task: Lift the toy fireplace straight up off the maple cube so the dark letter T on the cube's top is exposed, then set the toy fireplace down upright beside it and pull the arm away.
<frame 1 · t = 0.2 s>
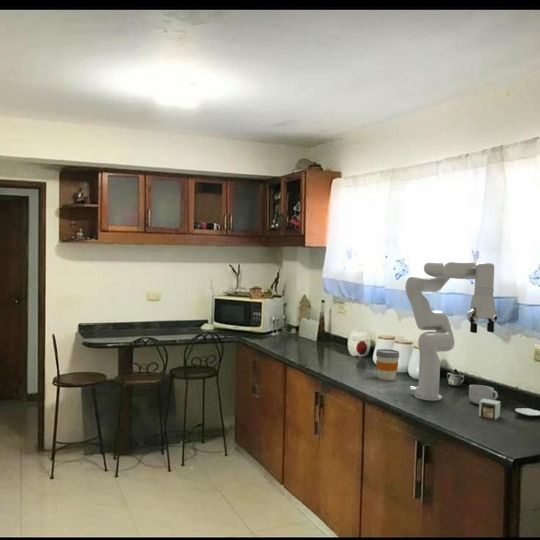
hand: (482, 332, 243), 36 cm above the countertop, tool pointing down, fingers open, 9 cm apart
reusable coffee cup: (386, 378, 315), on the countertop
teacup: (483, 404, 267), on the countertop
lettered cube: (488, 416, 246), on the countertop
toy fireplace: (489, 416, 247), on the countertop
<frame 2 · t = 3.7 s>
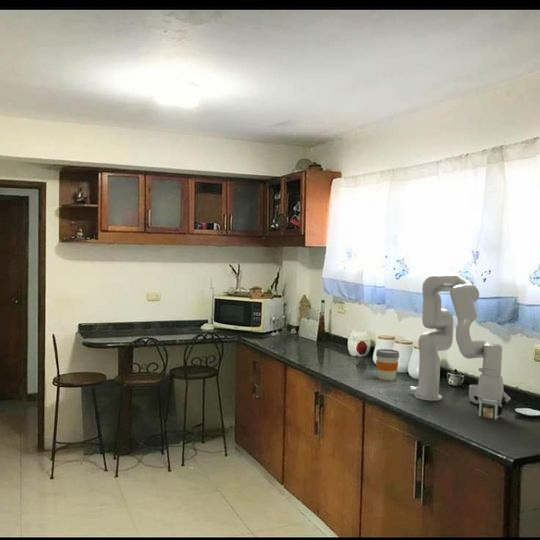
hand: (489, 413, 247), 1 cm above the countertop, tool pointing down, fingers closed on toy fireplace, 7 cm apart
toy fireplace: (489, 416, 247), on the countertop, touching gripper
everything else where it was.
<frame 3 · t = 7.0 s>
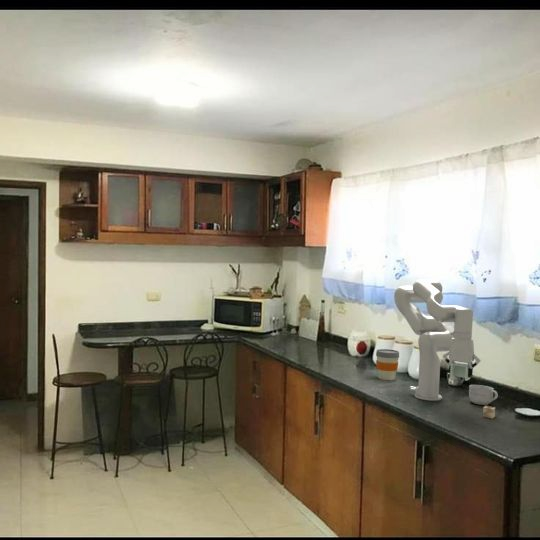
hand: (460, 375, 254), 16 cm above the countertop, tool pointing down, fingers closed on toy fireplace, 7 cm apart
toy fireplace: (460, 378, 254), point 14 cm above the countertop, touching gripper
everything else where it was.
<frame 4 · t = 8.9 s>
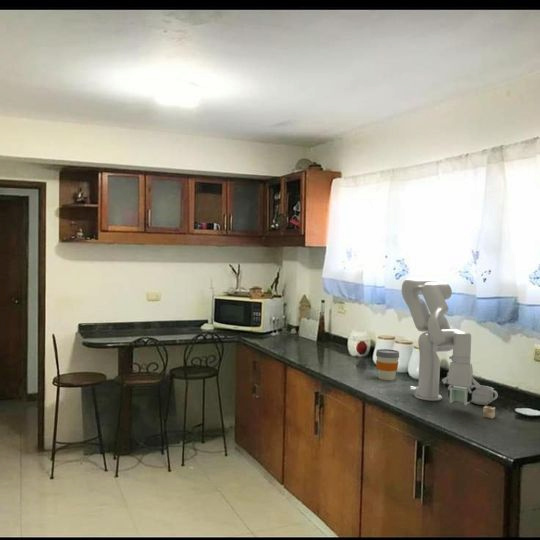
hand: (459, 399, 254), 5 cm above the countertop, tool pointing down, fingers closed on toy fireplace, 7 cm apart
toy fireplace: (459, 402, 254), point 4 cm above the countertop, touching gripper
everything else where it was.
when the fingers open (2 cm above the countertop, at t = 10.5 s): toy fireplace stays where it is, on the countertop.
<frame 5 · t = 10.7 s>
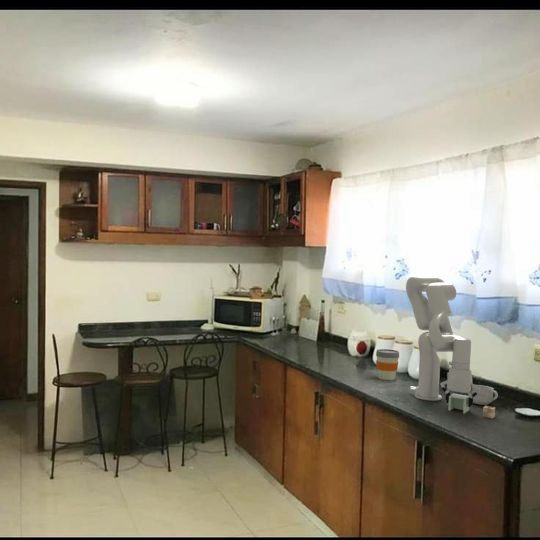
hand: (458, 404, 254), 3 cm above the countertop, tool pointing down, fingers open, 9 cm apart
toy fireplace: (458, 410, 254), on the countertop
everything else where it was.
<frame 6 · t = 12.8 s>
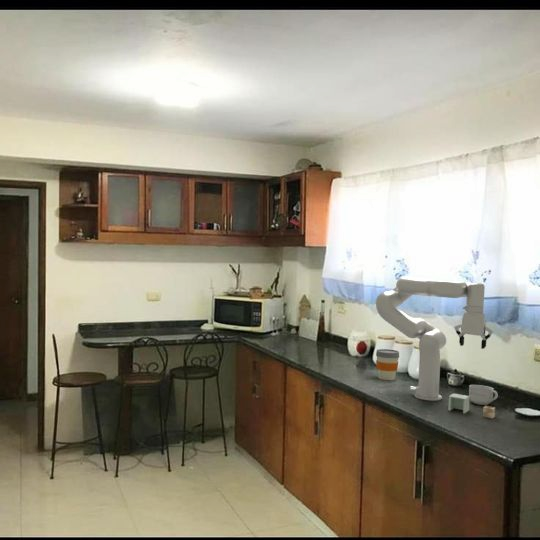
hand: (472, 346, 264), 27 cm above the countertop, tool pointing down, fingers open, 9 cm apart
nothing on the countertop moved.
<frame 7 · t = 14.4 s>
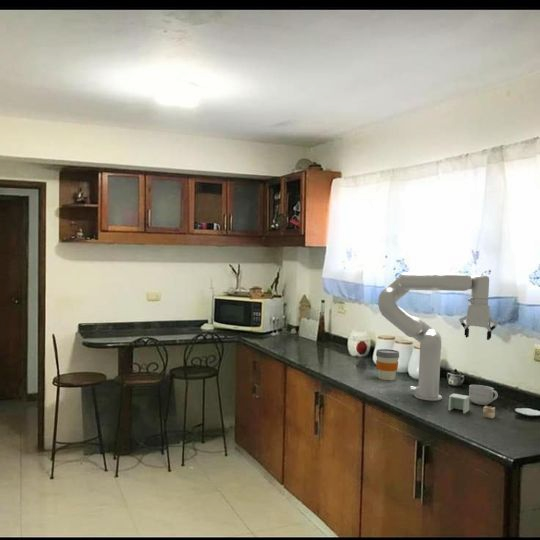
hand: (477, 338, 268), 30 cm above the countertop, tool pointing down, fingers open, 9 cm apart
nothing on the countertop moved.
at the end: toy fireplace inside the target area (0.1 cm from its centre), on the countertop; toy fireplace tilted 0°; lettered cube moved 0.1 cm from its start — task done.
